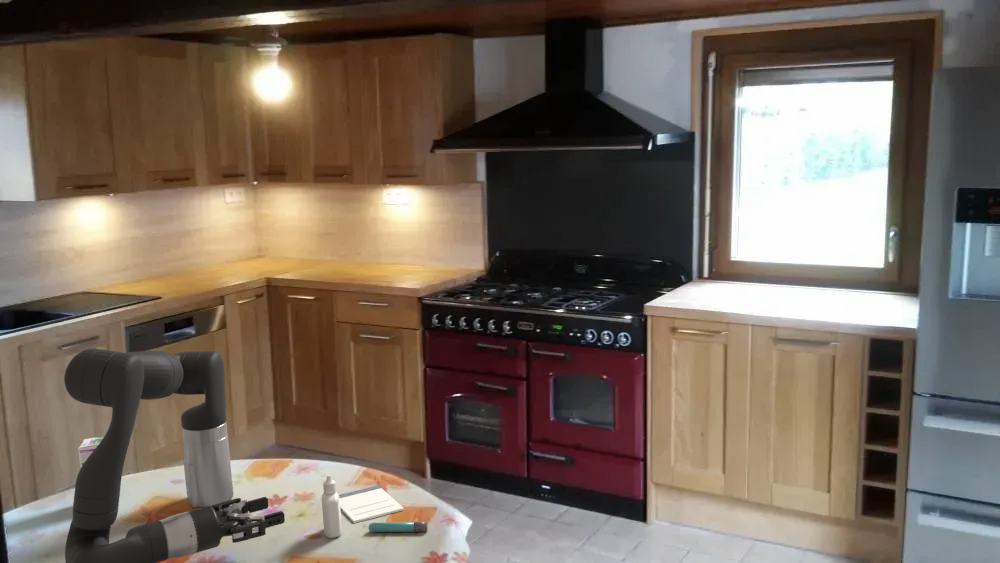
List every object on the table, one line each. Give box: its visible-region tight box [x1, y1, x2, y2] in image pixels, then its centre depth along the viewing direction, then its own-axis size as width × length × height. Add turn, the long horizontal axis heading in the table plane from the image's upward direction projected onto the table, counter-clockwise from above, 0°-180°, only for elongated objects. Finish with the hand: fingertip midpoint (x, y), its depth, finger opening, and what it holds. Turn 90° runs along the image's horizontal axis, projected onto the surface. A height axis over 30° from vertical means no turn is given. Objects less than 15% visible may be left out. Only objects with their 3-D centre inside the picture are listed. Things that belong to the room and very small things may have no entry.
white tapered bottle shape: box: [321, 474, 343, 539], centre depth 176 cm, size 4×6×12 cm
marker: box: [368, 521, 428, 533], centre depth 176 cm, size 12×2×2 cm, turn 87°
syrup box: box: [77, 436, 104, 469], centre depth 193 cm, size 6×6×14 cm
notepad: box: [338, 484, 405, 524], centre depth 189 cm, size 11×14×1 cm
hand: (275, 509), depth 169 cm, fingers open, 8 cm apart
